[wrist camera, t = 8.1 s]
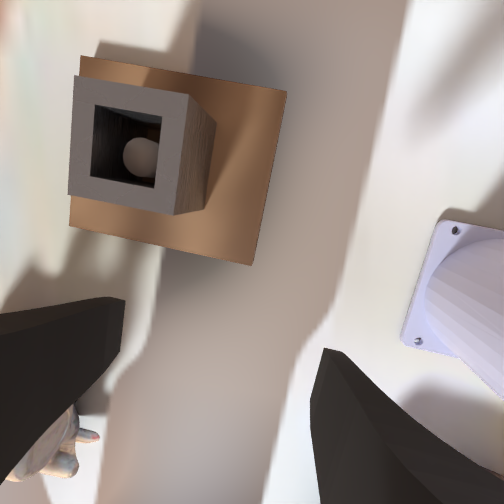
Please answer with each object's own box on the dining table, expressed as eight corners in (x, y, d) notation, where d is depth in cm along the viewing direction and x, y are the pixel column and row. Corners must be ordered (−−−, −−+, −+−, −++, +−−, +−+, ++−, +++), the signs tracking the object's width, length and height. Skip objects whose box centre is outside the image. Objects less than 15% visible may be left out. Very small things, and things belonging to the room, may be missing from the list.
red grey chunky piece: (-76, 293, 20) (-213, 435, 10) (107, 292, 26) (131, 382, 16) (-73, 434, 22) (-181, 660, 13) (93, 404, 28) (107, 542, 19)
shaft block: (286, 96, 17) (286, 64, 13) (253, 262, 20) (243, 282, 15) (91, 62, 18) (29, 21, 14) (79, 224, 20) (22, 232, 16)
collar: (216, 122, 17) (188, 94, 12) (203, 209, 18) (173, 215, 13) (133, 108, 18) (74, 75, 13) (125, 194, 19) (67, 194, 14)
